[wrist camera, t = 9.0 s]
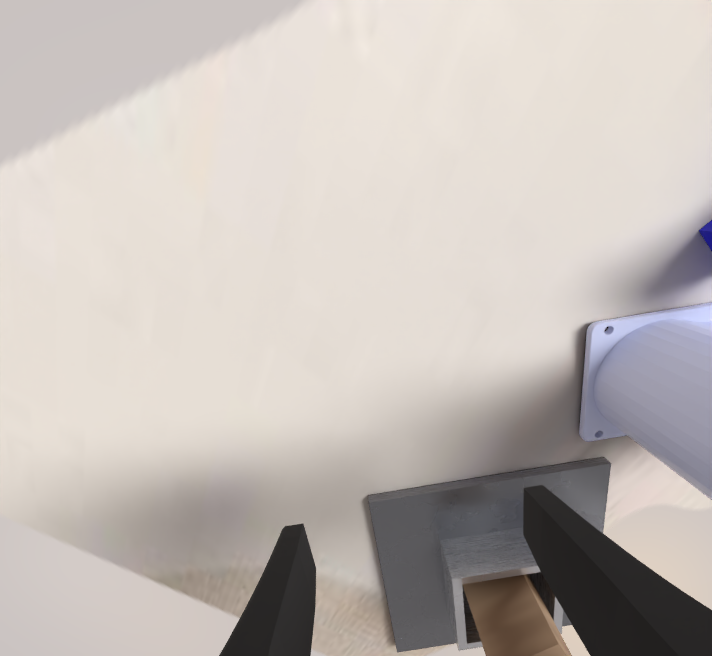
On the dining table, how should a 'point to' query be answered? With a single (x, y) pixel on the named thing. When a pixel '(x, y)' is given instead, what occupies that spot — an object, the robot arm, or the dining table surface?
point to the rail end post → (513, 618)
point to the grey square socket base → (469, 545)
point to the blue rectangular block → (707, 234)
